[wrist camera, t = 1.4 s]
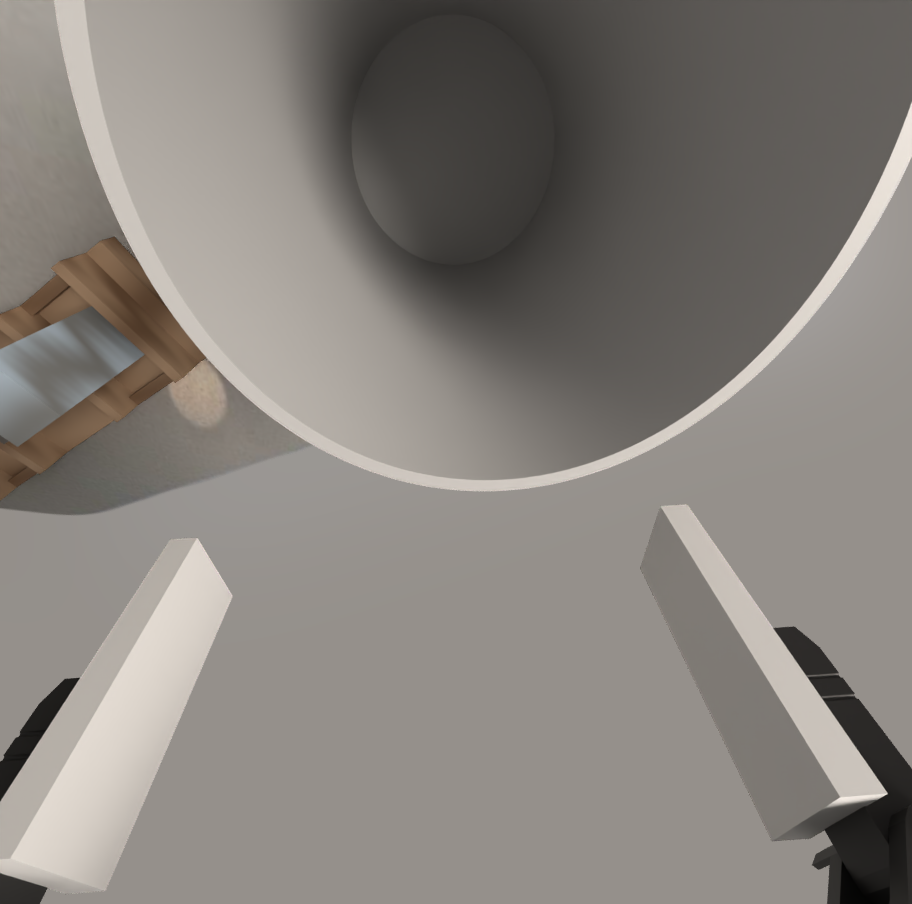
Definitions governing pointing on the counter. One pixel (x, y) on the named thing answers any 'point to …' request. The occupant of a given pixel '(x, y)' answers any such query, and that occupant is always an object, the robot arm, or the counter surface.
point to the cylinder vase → (492, 206)
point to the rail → (129, 318)
